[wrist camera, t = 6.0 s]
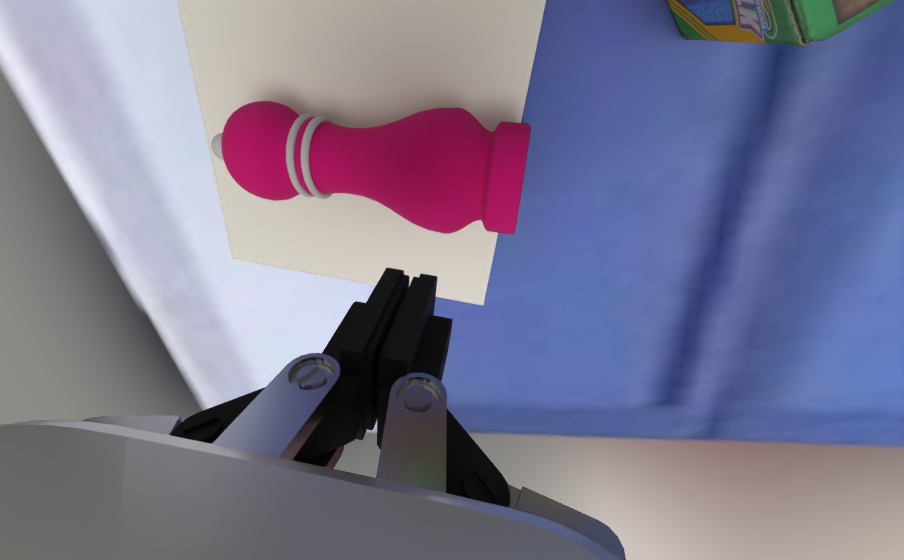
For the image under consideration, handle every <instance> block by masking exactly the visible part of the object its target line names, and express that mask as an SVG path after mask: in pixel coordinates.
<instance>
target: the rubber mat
mask: <svg viewBox="0 0 904 560" xmlns="http://www.w3.org/2000/svg"><path fill="white" fill-rule="evenodd" d="M177 3H178V8H179V12H180V17H181V22H182V26H183V31H184V36H185V40H186V45H187V49H188V54H189V59H190V63H191V68H192V73H193V77H194V82H195V86H196V91H197V96H198V100H199V105H200V110H201V114H202V119H203V124H204V128H205V133H206V137H207V142H208V147H209V151H210V156H211V161H212V165H213V170H214V175H215V179H216V184H217V188H218V193H219V198H220V202H221V207H222V212H223V216H224V221H225V226H226V230H227V235H228V239H229V244H230V249H231V253H232V258H233V259H236V260H241V261H247V262H252V263H257V264H263V265H268V266H274V267H279V268H284V269H290V270H295V271H301V272H306V273H311V274H317V275H322V276H328V277H333V278H338V279H344V280H349V281H354V282H360V283H365V284H371V285H377V283H378V281H379V280H380V278H381V276H382V274H383V273H384V271H385V269H386V268H387V267H388V268H394V269H399V270H404V275H408V276H409V286H410V284H411V281H412V279H413V277H419V276H420V274H421V273H422V274H428V275H433V276H437V288H436V297H441V298H446V299H452V300H457V301H462V302H468V303H473V304H478V305H483V304H484V299H485V294H486V289H487V284H488V280H489V275H490V270H491V265H492V260H493V255H494V250H495V246H496V241H497V236H498V233H496V232H489V231H486V230H485V228H484V225H483V222H482V221H481V220H478V221H475V222H472V223H471V224H469V225H467V226H466V227H464V228H463V229H461V230H459V231H457V232H454V233H451V234H443V233H439V232H435V231H430V230H427V229H425V228H422V227H420V226H417V225H415V224H413V223H411V222H409V221H408V220H406V219H405V218H403V217H401V216H400V215H398V214H397V213H395V212H394V211H392V210H391V209H389V208H387V207H386V206H384V205H382V204H380V203H379V202H377V201H374V200H371V199H369V198H366V197H363V196H359V195H353V194H347V193H334V194H333V195H332V196H330V197H329V198H327V199H319V198H316V197H305V196H303V195H301V194H299V195H297V196H295V197H293V198H291V199H288V200H279V201H274V200H268V199H263V198H260V197H257V196H255V195H253V194H251V193H249V192H247V191H246V190H244V189H243V188H242V187H241V186H239V185H238V184H237V183H236V181H235V180H234V179H233V178H232V177H231V175H230V173H229V172H228V170H227V168H226V165H225V163H224V160H221V159H219V158H218V157H217V156H216V155H215V154H214V152H213V150H212V148H211V142H212V139H213V137H214V136H215V135H217V134H219V133H223V129H224V126H225V124H226V122H227V120H228V118H229V117H230V116H231V114H232V113H233V112H234V111H236V110H237V109H239V108H240V107H241V106H244V105H246V104H248V103H252V102H257V101H272V102H277V103H280V104H283V105H286V106H288V107H290V108H291V109H293V110H294V111H295V112H297V113H298V114H299V115H300V116H301V115H303V114H312V115H315V116H319V115H325V116H328V117H329V118H331V119H332V120H333V121H334V123H335V124H336V125H340V126H344V127H350V128H369V127H376V126H382V125H385V124H388V123H391V122H395V121H398V120H400V119H403V118H405V117H408V116H410V115H413V114H415V113H418V112H420V111H424V110H429V109H434V108H462V109H465V110H466V111H468V112H470V113H471V114H472V115H473V116H474V117H475V118H476V119H477V120H478V121H479V122H480V123H481V124H482V125H483V126H484V128H486V129H487V130H488V131H492V132H493V131H494V130H495V129H496V127H497V126H498V124H499V123H500V122H502V121H504V122H515V123H521V120H522V115H523V110H524V105H525V100H526V95H527V91H528V86H529V81H530V76H531V71H532V66H533V61H534V57H535V52H536V47H537V42H538V37H539V32H540V28H541V23H542V18H543V13H544V8H545V3H546V0H177Z"/></svg>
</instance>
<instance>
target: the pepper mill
mask: <svg viewBox="0 0 904 560" xmlns="http://www.w3.org/2000/svg"><path fill="white" fill-rule="evenodd" d="M530 132H531V126H530V125H529V124H526V123H515V122H504V121H502V122H500V123H499V124H498V126H497V127H496V129H495V130H494V131H493V132H492V131H488V130H487V129H486V128H484V126H483V125H482V124H481V123H480V122H479V121H478V120H477V119H476V118H475V117H474V116H473V115H472V114H471V113H470V112H468V111H466V110H465V109H462V108H434V109H429V110H424V111H420V112H418V113H415V114H413V115H410V116H408V117H405V118H403V119H400V120H398V121H395V122H391V123H388V124H385V125H382V126H376V127H369V128H350V127H344V126H340V125H336V124H335V123H334V121H333V120H332V119H331V118H329V117H328V116H325V115H319V116H315V115H312V114H303V115H301V116H300V115H299V114H298V113H297V112H295V111H294V110H293V109H291V108H290V107H288V106H286V105H283V104H280V103H277V102H272V101H257V102H252V103H248V104H246V105H244V106H241V107H240V108H239V109H237V110H236V111H234V112H233V113H232V114H231V116H230V117H229V118H228V120H227V122H226V124H225V126H224V129H223V133H219V134H217V135H215V136H214V137H213V139H212V142H211V148H212V150H213V152H214V154H215V155H216V156H217V157H218V158H219V159H221V160H224V163H225V165H226V168H227V170H228V172H229V173H230V175H231V177H232V178H233V179H234V180H235V181H236V183H237V184H238V185H239V186H241V187H242V188H243V189H244V190H246V191H247V192H249V193H251V194H253V195H255V196H257V197H260V198H263V199H268V200H274V201H279V200H288V199H291V198H293V197H295V196H297V195H299V194H301V195H303V196H305V197H316V198H319V199H327V198H329V197H330V196H332V195H333V194H334V193H347V194H353V195H359V196H363V197H366V198H369V199H371V200H374V201H377V202H379V203H380V204H382V205H384V206H386V207H387V208H389V209H391V210H392V211H394V212H395V213H397V214H398V215H400V216H401V217H403V218H405V219H406V220H408V221H409V222H411V223H413V224H415V225H417V226H420V227H422V228H425V229H427V230H430V231H435V232H439V233H443V234H451V233H454V232H457V231H459V230H461V229H463V228H464V227H466V226H467V225H469V224H471V223H472V222H475V221H478V220H481V221H482V222H483V225H484V228H485V230H486V231H489V232H496V233H504V234H514V232H515V228H516V222H517V216H518V210H519V203H520V197H521V191H522V184H523V178H524V172H525V165H526V159H527V152H528V145H529V139H530Z"/></svg>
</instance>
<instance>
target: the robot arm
mask: <svg viewBox="0 0 904 560" xmlns="http://www.w3.org/2000/svg"><path fill="white" fill-rule="evenodd" d="M436 288H437V276H433V275H428V274H422V273H421V274H420V276H419V277H413V279H412V281H411V284H410V286H409V276H408V275H404V270H399V269H394V268H388V267H387V268H386V269H385V271H384V273H383V274H382V276H381V278H380V280H379V281H378V283H377V285H376V287H375V288H374V290H373V292H372V294H371V295H370V297H369V299H368V301H367V302H366V303H362V302H357V301H356V302H354V303H353V305H352V306H351V308H350V309H349V311H348V312H347V314H346V316H345V317H344V319H343V320H342V322H341V324H340V325H339V327H338V328H337V330H336V332H335V333H334V335H333V336H332V338H331V340H330V341H329V343H328V344H327V346H326V348H325V349H324V351H323V352H322V354H321V353H311V354H306V355H302V356H300V357H298V358H296V359H294V360H292V361H291V362H290V363H289V364H287V365H286V367H285V368H284V369H283V370H282V371H281V372H280V373H279V374H278V375H277V376H276V377H275V378H274V379H273V380H272V381H271V382H270V383H269V384H268V385H267V386H266V387H265V388H262V389H260V390H257V391H254V392H252V393H249V394H246V395H244V396H241V397H238V398H236V399H233V400H230V401H228V402H225V403H222V404H220V405H217V406H214V407H212V408H209V409H207V410H204V411H201V412H199V413H197V414H194V415H192V416H190V417H189V418H187V419H186V420H181V417H180V416H100V417H93V418H88V419H85V420H82V421H73V420H31V421H23V422H15V423H6V424H0V560H626V558H625V553H624V548H623V546H622V544H621V542H620V541H619V539H618V537H617V536H616V534H615V533H614V532H613V531H612V530H611V529H610V528H609V527H608V526H606V525H605V524H603V523H602V522H600V521H599V520H597V519H594V518H592V517H590V516H588V515H586V514H583V513H581V512H579V511H577V510H574V509H572V508H570V507H568V506H565V505H563V504H561V503H559V502H557V501H554V500H552V499H550V498H548V497H545V496H543V495H541V494H539V493H536V492H534V491H532V490H530V489H527V488H525V487H522V489H521V490H519V489H517V488H515V487H513V486H511V485H508V483H507V482H506V480H505V479H504V477H503V476H502V474H501V473H500V472H499V470H498V469H497V468H496V467H495V466H494V464H493V463H492V462H491V461H490V460H489V458H488V457H487V456H486V455H485V454H484V452H483V451H482V450H481V449H480V448H479V446H478V445H477V444H476V443H475V442H474V440H473V439H472V438H471V437H470V436H469V434H468V433H467V432H466V431H465V430H464V428H463V427H462V426H461V425H460V424H459V422H458V421H457V420H456V419H455V418H454V416H453V415H452V414H451V413H450V412H449V410H448V409H447V394H446V389H445V387H444V386H443V384H442V382H441V380H442V376H443V371H444V367H445V362H446V357H447V352H448V347H449V341H450V334H451V328H452V319H450V318H444V317H439V316H433V314H434V305H435V297H436ZM376 421H377V445H378V447H379V448H380V450H381V451H380V458H379V464H378V470H377V476H376V478H373V477H368V476H364V475H359V474H354V473H349V472H345V471H340V470H335V469H334V467H335V465H336V464H337V462H338V460H339V459H340V457H341V455H342V453H343V450H344V445H346V444H347V443H349V442H351V441H353V440H355V439H359V440H363V438H364V435H365V433H366V430H367V429H368V430H373V428H374V426H375V423H376Z"/></svg>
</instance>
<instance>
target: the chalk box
mask: <svg viewBox="0 0 904 560" xmlns="http://www.w3.org/2000/svg"><path fill="white" fill-rule="evenodd" d="M667 1H668V3H669V6H670V8H671V10H672V13H673V15H674V17H675V20H676V22H677V24H678V27H679V30H680V32H681V34H682V36H683V37H684V39H686V40H713V41H728V42H750V43H763V44H786V45H796V46H807V45H809V44H810V43H812V42H813V41H815V40H817V41H823V40H826V39H828V38H830V37H832V36H834V35H835V34H837V33H839V32H841V31H843V30H844V29H846V28H848V27H849V26H851V25H853V24H854V23H856V22H858V21H860V20H861V19H863V18H865V17H867V16H868V15H870V14H872V13H874V12H875V11H877V10H878V9H880V8H882V7H883V6H885V5H887V4H888V3H890V2H892V1H893V0H667Z"/></svg>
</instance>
